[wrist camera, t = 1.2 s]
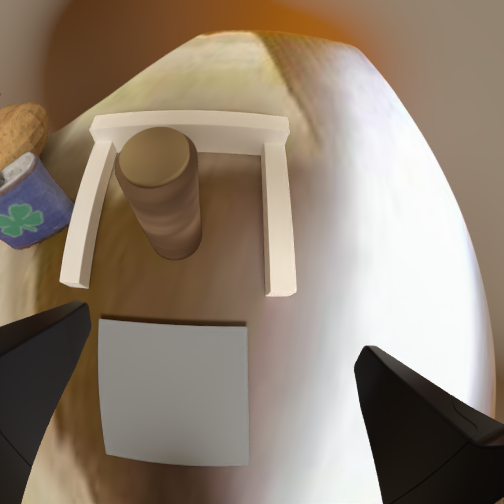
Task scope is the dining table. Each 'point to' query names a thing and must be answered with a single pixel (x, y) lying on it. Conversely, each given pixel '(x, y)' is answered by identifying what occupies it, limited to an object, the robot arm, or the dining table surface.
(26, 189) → the flask
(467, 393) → the dining table surface
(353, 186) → the dining table surface
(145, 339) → the mat
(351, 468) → the dining table surface
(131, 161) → the brown wooden cylinder
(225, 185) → the dining table surface
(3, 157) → the potato
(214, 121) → the white frame
